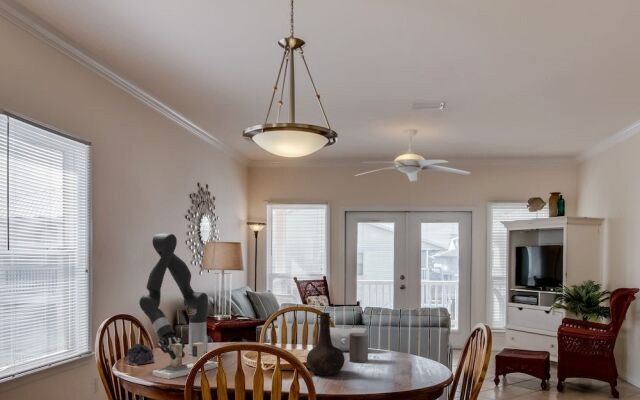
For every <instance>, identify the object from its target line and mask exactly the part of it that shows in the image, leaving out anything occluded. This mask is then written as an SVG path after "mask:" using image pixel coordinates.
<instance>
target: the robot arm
mask: <svg viewBox="0 0 640 400" xmlns="http://www.w3.org/2000/svg"><path fill="white" fill-rule="evenodd" d="M177 242H178V240H177V236H176V235H175V234H174V233H156V234H154V236H153V237H152V246H153V249H154V250H155V251H156V253H157V254H158V256H159V257H160V258H159V260H158V261H157V263H155V265H154V267H153V268H152V270H151V271H150V273H149V275H148V279H147V284H146V290H147V291H148V294H144V295H142V296H141V297H140V299H139V307H140V309H141V310H142V312H143V313H144V315H146V316H147V318H148V319H149V321H150V323H151V325H152V327H153V330H154V332H155V333H156V336H157V337H158V339H159V341H158V343H157V347H158V348H160V350H161V351H162V352H163V354H168V355H169V356H170V357H171V358H172V359H173V360H175V358H176V355H175V354H174V352H173V351H172V348H171V345H172V344H177V343H178V344H182V359H183V358H184V357H186V356H185V355H186V354H185V352H184V349H185V347H186V345H185V341H184V338H183V337H182V336H181V337H177V335H176V332H175V330H174V329H173V327H172V324H171V323H170V321H169V320H168V319H167V317H166V315H165V313H164V312H163V310H162V309H160V308H159V307H160V305H161V299H162V298H161V296H162V295H161V293H162V291H161V288H162V286H163V281H164V277H165V275H166V271H167V269H168V271H169V273H170V275H171V276H172V278H173V280H174V283H176V285H177V286H178V288H179V291H180V293H181V294H182V297H183V300H184V302H185V304H186V306H187V307H188V308H189V309H191V310H195V314H194V315H191V316H190V317H189V318H188V319H189V320H188V322H189V323H188V324H189V325H188V354H189V355H191V356H192V346H193V343H198V342H200V343H204V355H206V354H207V353H208V345H209V343H208V339H209V337H208V334H207V318H208V314H209V313H208V311H209V296H208V295H207V293H205V292H198V291H197V292H196V291H194V289H193V288H192V286H191V280H192V273H191V271H190V268H189V267H188V265H187V264H186V263H185V261H183V260H182V259H181V258H180V257H179V256H178V255H176V254H175V250H176V247H177V244H178V243H177ZM206 352H207V353H206ZM170 357H169V358H170Z"/></svg>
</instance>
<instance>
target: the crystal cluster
mask: <svg viewBox="0 0 640 400" xmlns="http://www.w3.org/2000/svg"><path fill="white" fill-rule="evenodd" d="M154 361H155V360H154V354H153V350H152V349H151V348H149V347H148V346H147V345H143V344H141V343H135V344H133V345H132V346H131V347H129V348H128V349H127V350H126V363H127V365H131V366H139V365H143V364H149V363H153V362H154Z"/></svg>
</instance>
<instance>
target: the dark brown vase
mask: <svg viewBox="0 0 640 400" xmlns="http://www.w3.org/2000/svg"><path fill="white" fill-rule="evenodd" d="M330 314H331V313H330V312H320V313H319V315H320V316H318V317H317V318H318V319H320V320H319V331H318V332H319V333H318V339H317V343H316V345H315V346H314V347H313V348H312V349H311V350H309V352H308V353H307V356H306V364H307V367H308V368H309V370H310V371H311V372H312V373H314V374H316V375H318V376H333V375H335V374H338V373H339V372H340V371H341V370H342V369H343V367H344V364H345V355H344V353H343V352H342V351H341V350H340V349H339V348H336V347H334V346H333V345H332V342H331V335H330V326H331V325H330V319H331V318H332V316H330Z"/></svg>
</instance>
